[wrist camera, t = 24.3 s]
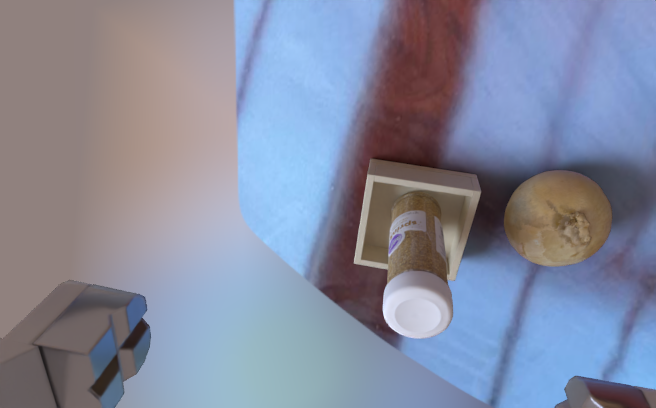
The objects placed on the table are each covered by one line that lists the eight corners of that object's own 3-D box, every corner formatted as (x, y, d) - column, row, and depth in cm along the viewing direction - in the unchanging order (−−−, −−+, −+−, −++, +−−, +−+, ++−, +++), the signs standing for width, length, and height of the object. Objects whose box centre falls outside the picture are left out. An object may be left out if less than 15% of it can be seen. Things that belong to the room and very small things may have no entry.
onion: (610, 219, 40) (647, 268, 34) (519, 253, 43) (537, 304, 37) (577, 143, 37) (610, 182, 31) (483, 185, 40) (496, 228, 34)
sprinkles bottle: (399, 183, 40) (395, 279, 29) (449, 198, 40) (465, 300, 29) (384, 225, 43) (373, 330, 31) (431, 239, 43) (438, 349, 31)
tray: (357, 243, 45) (353, 263, 42) (370, 158, 40) (367, 174, 38) (452, 259, 44) (454, 281, 41) (476, 174, 40) (481, 191, 37)
